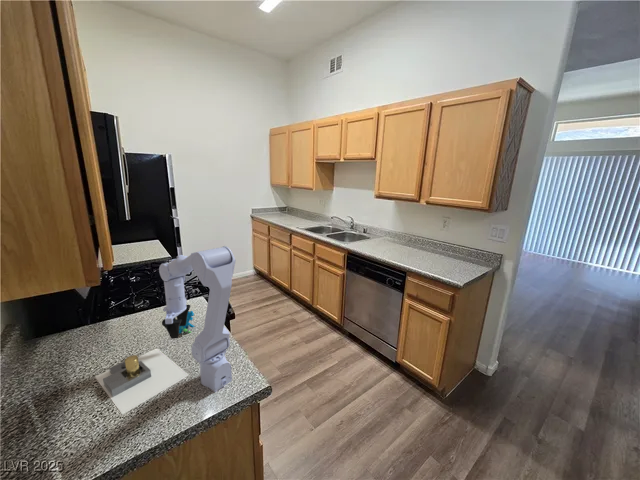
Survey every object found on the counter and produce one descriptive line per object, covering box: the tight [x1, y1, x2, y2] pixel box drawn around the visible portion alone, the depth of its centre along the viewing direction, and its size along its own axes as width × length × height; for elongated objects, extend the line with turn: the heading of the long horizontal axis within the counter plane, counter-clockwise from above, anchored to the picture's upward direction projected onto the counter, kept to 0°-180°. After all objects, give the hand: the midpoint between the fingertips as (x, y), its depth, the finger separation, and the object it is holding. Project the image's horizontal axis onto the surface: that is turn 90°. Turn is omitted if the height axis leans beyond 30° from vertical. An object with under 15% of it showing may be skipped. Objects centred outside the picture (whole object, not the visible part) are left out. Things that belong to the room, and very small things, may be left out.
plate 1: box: [108, 360, 151, 390], centre depth 82 cm, size 12×7×2 cm, turn 55°
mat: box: [94, 348, 190, 415], centre depth 82 cm, size 22×18×1 cm
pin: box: [124, 354, 140, 379], centre depth 80 cm, size 3×3×7 cm
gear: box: [179, 310, 195, 335], centre depth 109 cm, size 11×6×10 cm
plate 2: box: [103, 361, 151, 397], centre depth 80 cm, size 7×10×2 cm
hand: (178, 331), depth 92 cm, fingers open, 7 cm apart
